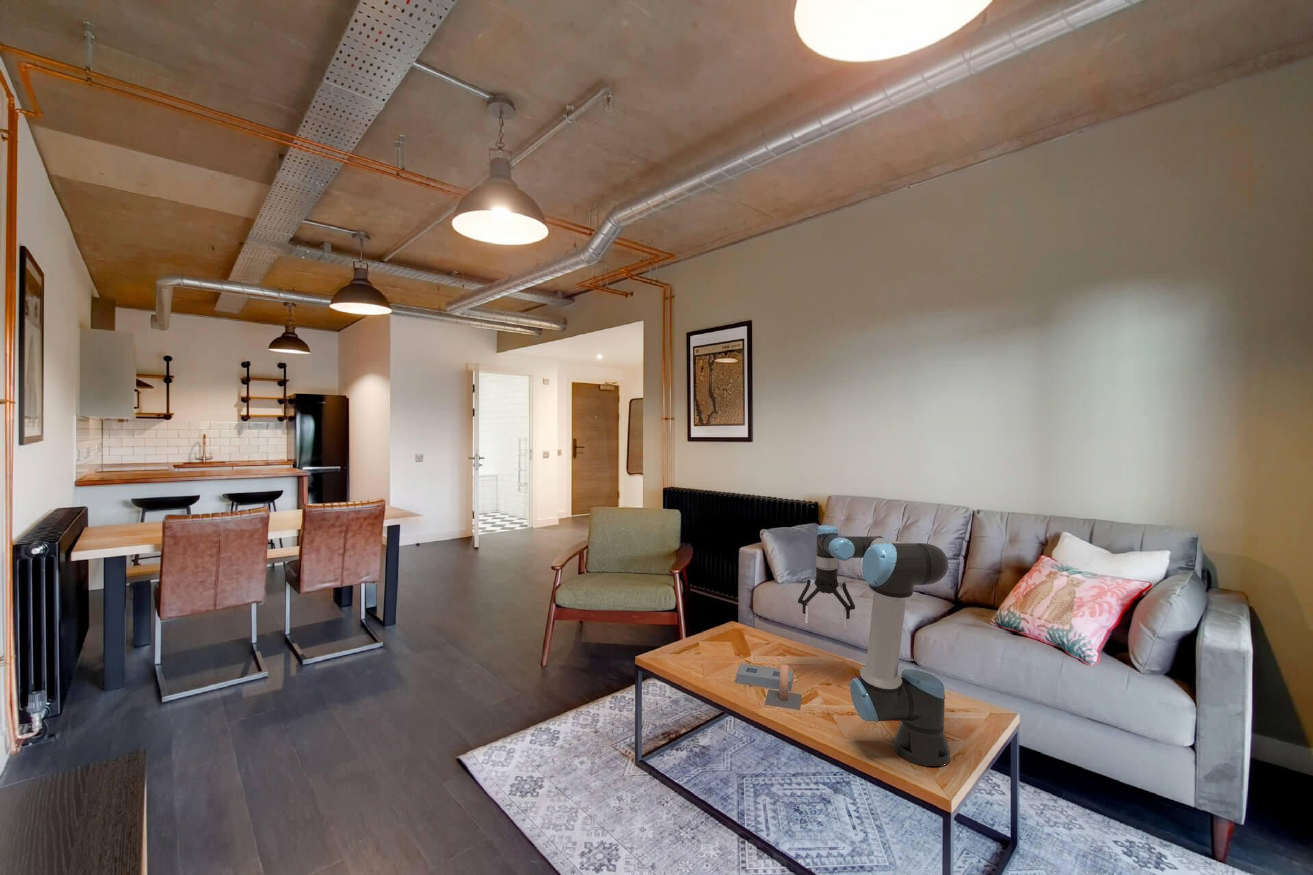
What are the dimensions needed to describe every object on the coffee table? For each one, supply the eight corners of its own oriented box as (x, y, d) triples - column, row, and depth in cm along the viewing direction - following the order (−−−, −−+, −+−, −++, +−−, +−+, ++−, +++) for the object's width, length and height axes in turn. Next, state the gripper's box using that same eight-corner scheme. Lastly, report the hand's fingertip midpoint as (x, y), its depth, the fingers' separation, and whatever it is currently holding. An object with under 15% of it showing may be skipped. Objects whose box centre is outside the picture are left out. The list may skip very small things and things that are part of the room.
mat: (800, 711, 191) (800, 709, 191) (764, 705, 195) (764, 704, 195) (802, 695, 203) (802, 694, 203) (768, 690, 206) (768, 689, 206)
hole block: (791, 692, 205) (791, 681, 205) (736, 684, 211) (736, 673, 211) (793, 680, 214) (793, 670, 214) (740, 673, 220) (740, 663, 220)
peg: (787, 701, 197) (788, 667, 197) (778, 700, 198) (779, 666, 198) (788, 697, 200) (788, 664, 200) (779, 696, 201) (780, 663, 201)
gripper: (862, 568, 207) (861, 626, 207) (793, 562, 216) (792, 617, 216) (862, 573, 200) (861, 632, 200) (791, 566, 209) (790, 623, 209)
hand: (825, 624), depth 208 cm, fingers open, 13 cm apart
